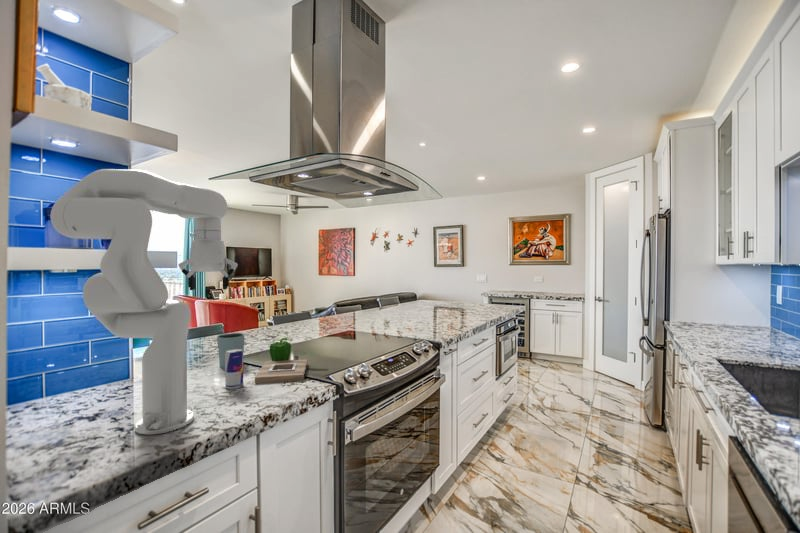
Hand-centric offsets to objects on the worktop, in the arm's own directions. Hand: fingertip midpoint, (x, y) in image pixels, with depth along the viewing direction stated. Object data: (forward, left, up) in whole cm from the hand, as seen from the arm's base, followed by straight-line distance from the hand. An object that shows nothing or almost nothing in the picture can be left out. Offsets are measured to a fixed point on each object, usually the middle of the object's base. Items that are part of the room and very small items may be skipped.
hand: (209, 289), depth 116 cm
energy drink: (+1, -7, -33) cm, 33 cm away
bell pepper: (+28, -18, -33) cm, 47 cm away
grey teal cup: (+28, +1, -33) cm, 43 cm away
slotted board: (+13, -21, -32) cm, 41 cm away
